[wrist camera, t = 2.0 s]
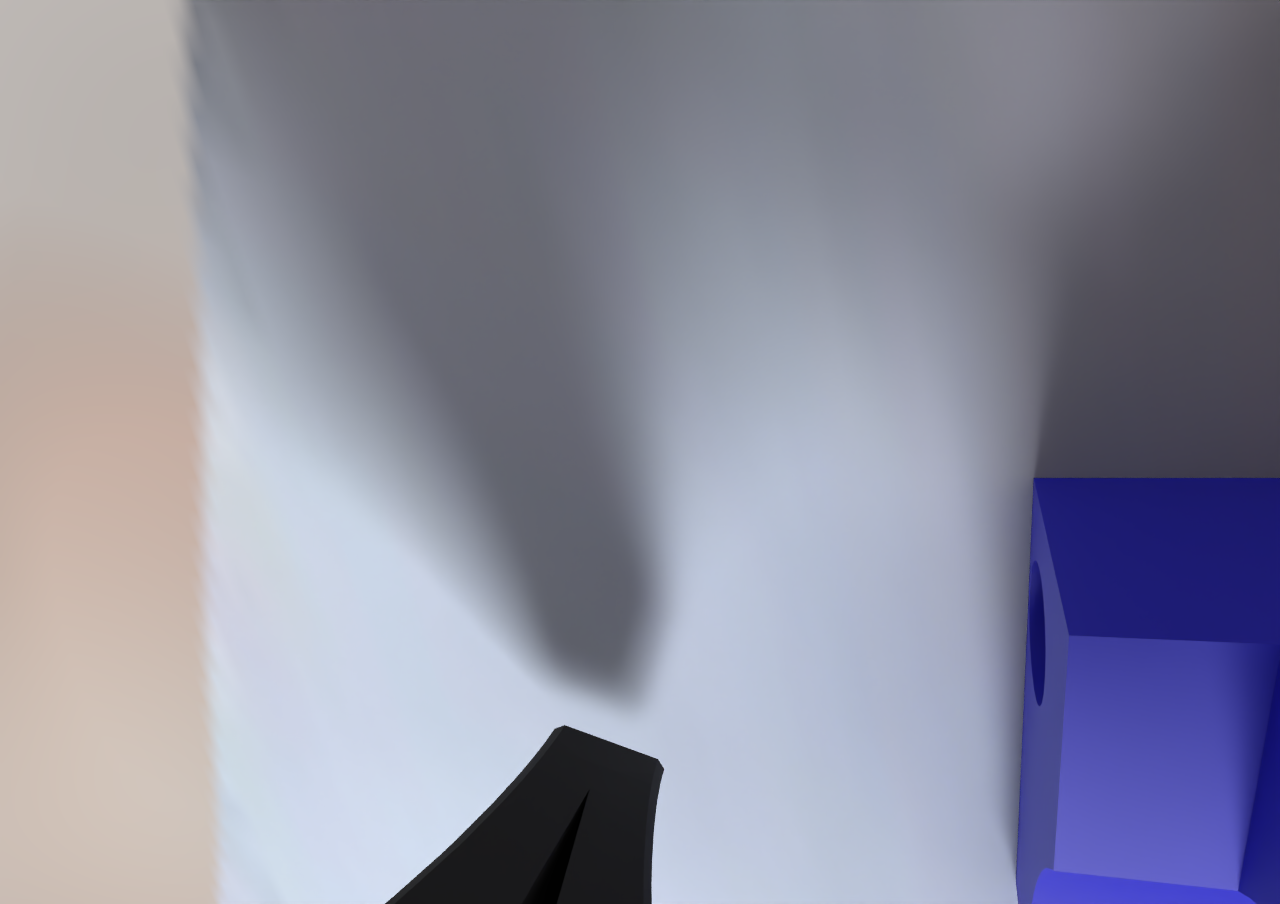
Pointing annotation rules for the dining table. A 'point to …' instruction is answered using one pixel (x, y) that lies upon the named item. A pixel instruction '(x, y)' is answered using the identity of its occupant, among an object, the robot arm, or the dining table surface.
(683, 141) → the dining table surface
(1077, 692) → the cable clip
